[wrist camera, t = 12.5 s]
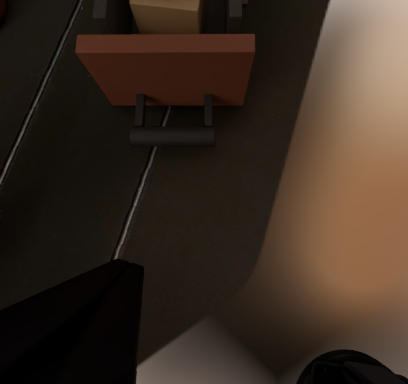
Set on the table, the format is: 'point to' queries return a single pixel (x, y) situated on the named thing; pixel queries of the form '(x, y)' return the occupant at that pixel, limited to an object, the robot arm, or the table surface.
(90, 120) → the table surface
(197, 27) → the block
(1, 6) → the mug
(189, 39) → the drawer
